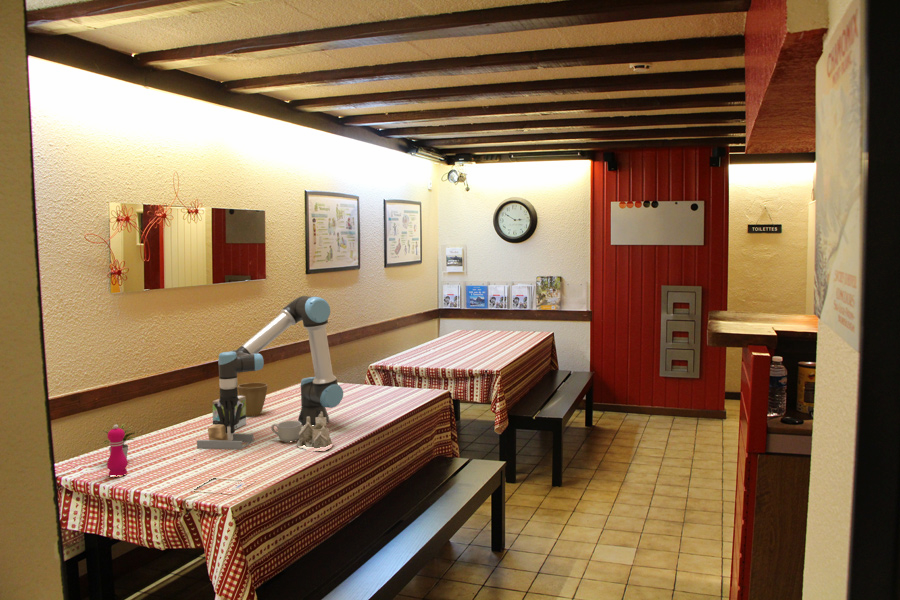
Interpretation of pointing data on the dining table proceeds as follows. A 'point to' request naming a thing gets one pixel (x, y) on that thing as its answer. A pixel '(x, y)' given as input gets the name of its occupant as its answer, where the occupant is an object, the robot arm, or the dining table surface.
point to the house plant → (125, 447)
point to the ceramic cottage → (315, 433)
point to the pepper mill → (116, 452)
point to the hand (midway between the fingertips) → (230, 440)
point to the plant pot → (253, 397)
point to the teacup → (287, 430)
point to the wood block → (217, 432)
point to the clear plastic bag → (229, 488)
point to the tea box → (216, 417)
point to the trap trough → (227, 442)
